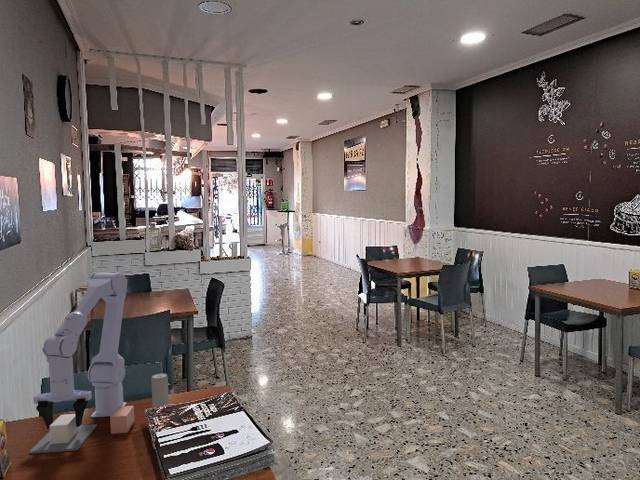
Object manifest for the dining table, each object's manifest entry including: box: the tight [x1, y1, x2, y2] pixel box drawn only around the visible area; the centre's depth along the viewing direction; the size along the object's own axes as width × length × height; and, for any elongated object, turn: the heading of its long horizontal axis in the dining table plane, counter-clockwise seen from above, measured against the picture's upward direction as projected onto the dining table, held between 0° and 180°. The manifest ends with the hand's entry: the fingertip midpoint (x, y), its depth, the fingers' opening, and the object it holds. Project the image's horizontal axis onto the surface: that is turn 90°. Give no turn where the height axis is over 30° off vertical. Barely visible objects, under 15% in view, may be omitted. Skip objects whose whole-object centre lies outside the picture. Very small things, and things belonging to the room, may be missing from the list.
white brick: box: [49, 413, 79, 444], centre depth 128 cm, size 7×4×5 cm, turn 6°
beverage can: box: [150, 372, 170, 409], centre depth 144 cm, size 5×5×12 cm
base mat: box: [28, 423, 98, 455], centre depth 129 cm, size 14×12×1 cm
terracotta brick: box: [109, 405, 135, 434], centre depth 135 cm, size 7×4×5 cm, turn 6°
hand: (64, 426), depth 128 cm, fingers open, 7 cm apart
